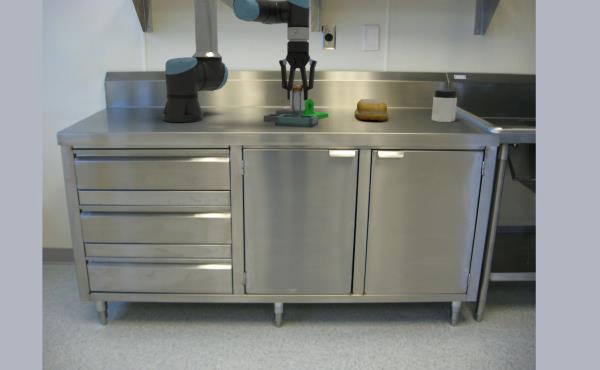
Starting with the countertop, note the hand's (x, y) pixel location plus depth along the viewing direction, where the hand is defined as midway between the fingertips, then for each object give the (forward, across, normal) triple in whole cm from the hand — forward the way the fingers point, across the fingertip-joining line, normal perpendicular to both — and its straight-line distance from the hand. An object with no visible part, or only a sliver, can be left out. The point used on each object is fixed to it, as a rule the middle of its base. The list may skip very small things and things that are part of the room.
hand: (297, 109), depth 178 cm
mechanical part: (+6, +2, +22) cm, 23 cm away
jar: (+6, +51, +31) cm, 60 cm away
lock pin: (+4, 0, 0) cm, 4 cm away
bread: (+6, +23, +30) cm, 38 cm away
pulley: (+5, -10, +21) cm, 24 cm away
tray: (+5, 0, 0) cm, 5 cm away
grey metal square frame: (+5, -11, +9) cm, 15 cm away
